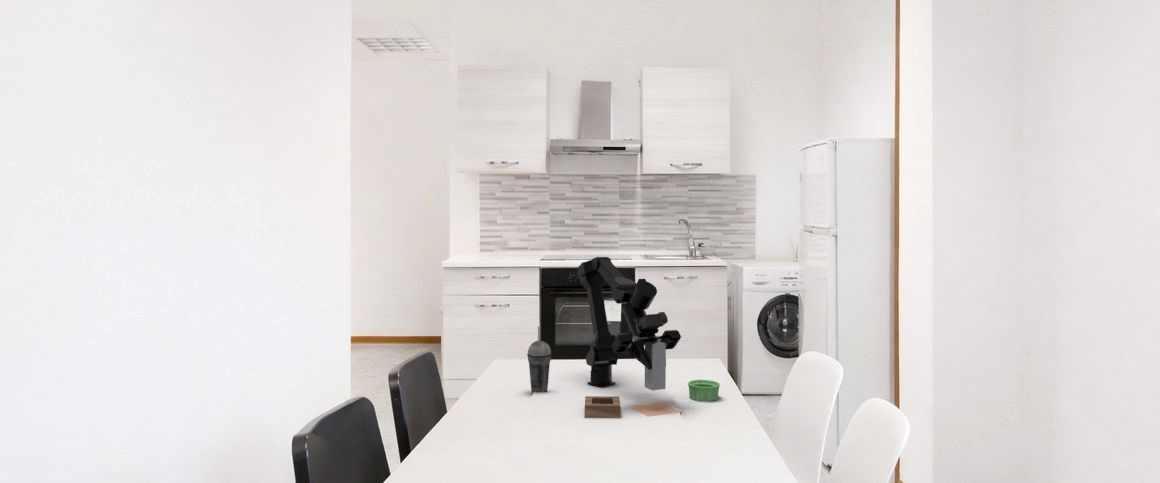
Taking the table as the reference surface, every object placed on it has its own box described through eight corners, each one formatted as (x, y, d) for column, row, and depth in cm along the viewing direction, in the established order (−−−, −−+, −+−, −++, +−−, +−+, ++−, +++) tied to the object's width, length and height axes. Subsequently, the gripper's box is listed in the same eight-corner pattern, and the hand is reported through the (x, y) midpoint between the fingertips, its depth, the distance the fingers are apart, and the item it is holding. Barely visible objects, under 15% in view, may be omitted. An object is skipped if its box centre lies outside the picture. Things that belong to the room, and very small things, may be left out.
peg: (644, 386, 166) (644, 341, 165) (657, 385, 167) (658, 340, 167) (652, 390, 162) (652, 344, 162) (665, 389, 164) (665, 343, 163)
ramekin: (684, 400, 177) (684, 385, 177) (691, 393, 185) (691, 378, 185) (716, 404, 173) (716, 388, 173) (722, 396, 182) (722, 381, 182)
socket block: (585, 411, 166) (585, 396, 166) (619, 411, 166) (619, 396, 166) (584, 421, 157) (584, 405, 157) (620, 421, 157) (620, 406, 157)
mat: (629, 409, 167) (629, 406, 167) (661, 405, 171) (661, 402, 171) (647, 420, 158) (647, 416, 158) (681, 415, 162) (681, 411, 162)
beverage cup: (553, 390, 187) (553, 324, 187) (549, 397, 180) (549, 328, 180) (529, 390, 188) (529, 323, 188) (524, 396, 181) (524, 327, 180)
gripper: (616, 303, 164) (636, 353, 154) (677, 300, 171) (700, 347, 162) (604, 328, 172) (622, 377, 162) (662, 325, 179) (683, 371, 169)
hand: (657, 368), depth 163 cm, fingers closed on peg, 4 cm apart
